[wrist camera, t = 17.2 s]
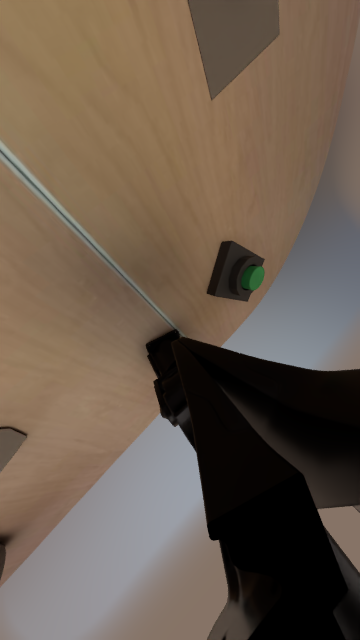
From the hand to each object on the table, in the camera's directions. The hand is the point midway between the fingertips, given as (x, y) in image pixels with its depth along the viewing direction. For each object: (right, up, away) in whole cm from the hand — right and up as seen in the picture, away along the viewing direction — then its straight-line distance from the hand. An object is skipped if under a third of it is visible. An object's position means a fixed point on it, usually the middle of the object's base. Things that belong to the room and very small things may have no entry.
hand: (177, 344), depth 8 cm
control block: (+11, +11, +19) cm, 24 cm away
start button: (+13, +9, +16) cm, 22 cm away
